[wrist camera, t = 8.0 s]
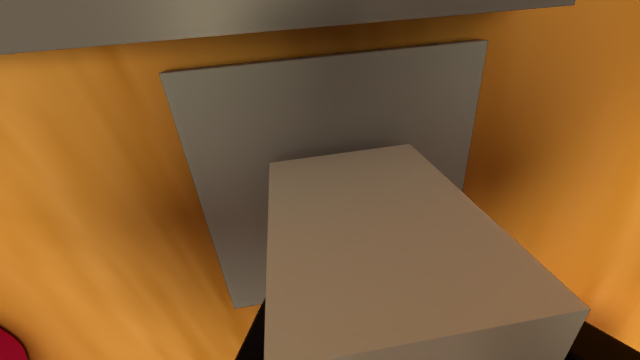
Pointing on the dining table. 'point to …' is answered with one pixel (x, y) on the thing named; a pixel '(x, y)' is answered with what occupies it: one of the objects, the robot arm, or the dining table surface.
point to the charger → (401, 268)
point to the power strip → (208, 18)
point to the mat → (313, 129)
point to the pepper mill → (10, 347)
